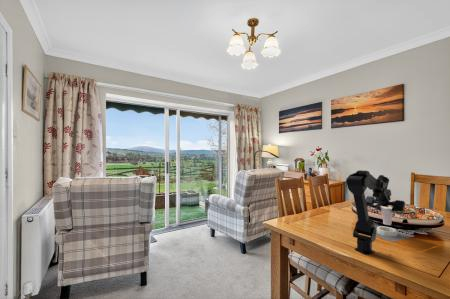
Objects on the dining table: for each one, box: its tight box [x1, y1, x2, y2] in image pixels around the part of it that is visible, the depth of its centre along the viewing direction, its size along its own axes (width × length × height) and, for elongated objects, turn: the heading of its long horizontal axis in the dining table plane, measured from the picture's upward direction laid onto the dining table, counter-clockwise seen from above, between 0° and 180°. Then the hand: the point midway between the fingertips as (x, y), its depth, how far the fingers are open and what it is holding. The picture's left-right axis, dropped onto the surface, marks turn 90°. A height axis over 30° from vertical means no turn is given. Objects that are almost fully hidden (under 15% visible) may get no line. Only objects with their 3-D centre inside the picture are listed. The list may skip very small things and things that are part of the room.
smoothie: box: [380, 206, 394, 226], centre depth 128 cm, size 6×6×14 cm
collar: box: [376, 225, 398, 237], centre depth 128 cm, size 10×10×2 cm
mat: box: [375, 227, 414, 243], centre depth 128 cm, size 20×18×1 cm
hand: (387, 211), depth 129 cm, fingers closed on smoothie, 6 cm apart
